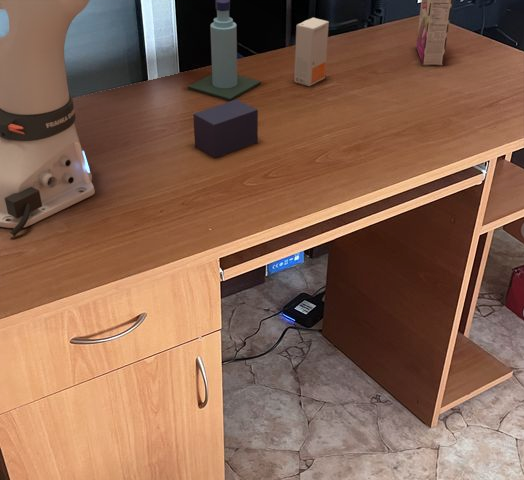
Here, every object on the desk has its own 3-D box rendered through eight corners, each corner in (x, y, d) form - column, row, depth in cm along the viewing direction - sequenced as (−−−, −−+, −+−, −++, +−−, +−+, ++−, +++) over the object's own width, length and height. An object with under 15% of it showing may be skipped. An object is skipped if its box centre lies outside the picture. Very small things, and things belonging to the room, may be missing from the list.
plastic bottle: (217, 99, 164) (177, 39, 162) (232, 91, 168) (193, 32, 166) (257, 61, 153) (214, -4, 151) (272, 53, 156) (230, -10, 154)
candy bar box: (414, 48, 183) (423, -28, 172) (435, 48, 183) (446, -28, 172) (420, 66, 174) (431, -13, 164) (443, 66, 174) (455, -12, 164)
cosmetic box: (310, 87, 165) (312, 28, 157) (293, 82, 167) (295, 24, 159) (326, 78, 168) (329, 20, 161) (309, 73, 170) (312, 16, 163)
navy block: (194, 146, 143) (193, 113, 139) (237, 131, 148) (236, 99, 144) (214, 158, 140) (213, 124, 136) (257, 142, 145) (257, 109, 141)
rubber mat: (230, 101, 159) (230, 98, 159) (187, 88, 164) (187, 86, 163) (260, 84, 166) (261, 81, 166) (219, 72, 171) (219, 69, 170)
